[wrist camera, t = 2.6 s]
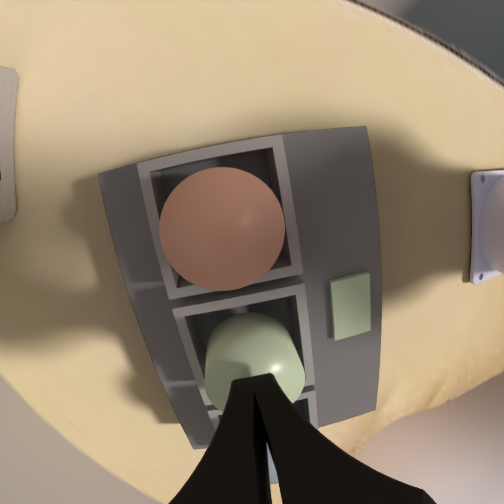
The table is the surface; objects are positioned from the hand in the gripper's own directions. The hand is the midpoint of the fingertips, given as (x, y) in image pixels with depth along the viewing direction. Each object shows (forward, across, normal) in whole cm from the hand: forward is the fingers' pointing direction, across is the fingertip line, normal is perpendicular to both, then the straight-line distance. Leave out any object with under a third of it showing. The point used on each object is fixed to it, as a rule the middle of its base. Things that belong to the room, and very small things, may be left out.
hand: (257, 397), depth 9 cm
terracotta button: (+3, 0, -6) cm, 6 cm away
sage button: (+3, 0, 0) cm, 3 cm away
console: (+7, -1, 0) cm, 7 cm away
